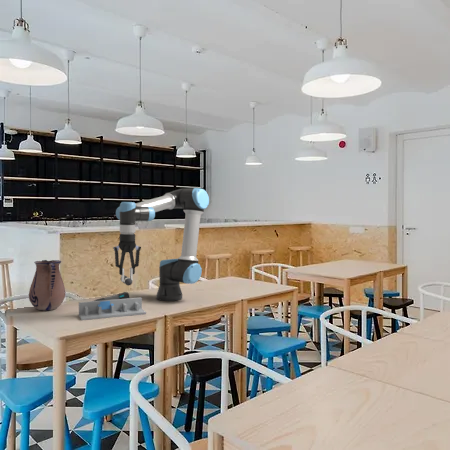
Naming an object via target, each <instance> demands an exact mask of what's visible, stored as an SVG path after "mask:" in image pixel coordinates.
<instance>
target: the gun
mask: <svg viewBox="0 0 450 450" xmlns="http://www.w3.org/2000/svg"><path fill="white" fill-rule="evenodd" d="M128 298H131V297H130V293H129V292H127V291H123V292H121V293H117V294H114V295H110V296H106V297H102V298H101V297H100V298H98V299H95V300H93V301H102V300H115V299H128Z"/></svg>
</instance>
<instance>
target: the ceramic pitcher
mask: <svg viewBox="0 0 450 450" xmlns="http://www.w3.org/2000/svg"><path fill="white" fill-rule="evenodd" d="M61 263H62V261H61V260H59V259H57V260H56V259H55V260H53V259H52V260H51V259H50V260H47V259H43V260H37V261H34V264H35V268H36V269H35V273H34V275H33V279H32V281H31V284H30V287H29V291H28V292H29V293H28V300H29V302H30V305H32V307H33V308H34V309H36V310H39V311H44V312H46V311H52V310H53V311H54V310H56V309H58V308H59V307H60V306H61V305H62V304H63V302H64V300H65V298H66V288H65V283H64V280H63V277H62V274H61V270H60V265H61Z"/></svg>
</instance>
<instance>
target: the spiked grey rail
mask: <svg viewBox="0 0 450 450" xmlns="http://www.w3.org/2000/svg"><path fill="white" fill-rule="evenodd" d="M142 304H143V299H142V297H130V298H128V299H115V300H102V301H94V300H89V301H80V302H78V317H79V319H80V321H87V320H98V319H99V320H100V319H110V318H119V317H129V316H130V317H132V316H139V315H140V316H141V315H142V316H143V315H146V314H147V312H146V311H145V310H144V309H143V305H142Z"/></svg>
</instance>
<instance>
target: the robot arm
mask: <svg viewBox="0 0 450 450" xmlns="http://www.w3.org/2000/svg"><path fill="white" fill-rule="evenodd" d="M209 204H210V197H209V194H208V193H207V191H206V190H205V189H204V188H198V187H194V188H192V187H191V188H178V189H176V190H172V191H170V192H165V194H163V195H162V196H159V197H154V198H151V199H147V200H144V201H141V202H140V201H139V202H137V203H135V202H134V201H133V202H132V201H121V203H120V204H119V206H118V207H117V208H116V209H115V217H116V218H117V219H118V220H119V233H120V234H119V244H118V245H116V246H113V247H112V249H113V251H114V260H115V261H114V264H115V267H116V268H118V269H119V272H118V274H119V275H120V282H122V283H123V282H124V275H125V268H124V264H125V257H126V255H127V253H128V255H129V260H130V266H131V267H129V278H130V279H132V282H133V281H134V279H133V278H134V277H133V276H134V275H135V274H136V268H137V267H139V263H140V251H141V250H142V246H140V245H137V243H136V234H135V233H136V222H151V221H153V220H154V219H155V217H156V213H158V212H160V211H161V212H162V211H163V210H173V209H183V212H184V213H185V219H184V225H183V227H184V228H183V233H182V235H183V236H182V243H181V253H180V256H179V257H178V258H171V259H170V258H169V259H163V260H160V261H159V286H158V289H157V292H156V300H157V301H158V300H159V301H164V302H167V301H168V302H171V301H174V302H175V301H179V300H182V299H183V292H182V289H181V285H180V283H182V284H187V285H188V284H190V285H192V284H193V285H194V284H196V283H197V282H198V281H199V280H200V278H201V276H202V273H203V272H202V271H203V268H202V267H201V264H200V263H199V259H198V258H197V254H198V253H197V252H198V244H199V234H200V224H201V216H202V215H203V214H204V213H205V209H207V208H208V206H209ZM119 250H121V253H120V254H121V255H120V258H119ZM134 251H135V259H134ZM119 259H120V260H119Z"/></svg>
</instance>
